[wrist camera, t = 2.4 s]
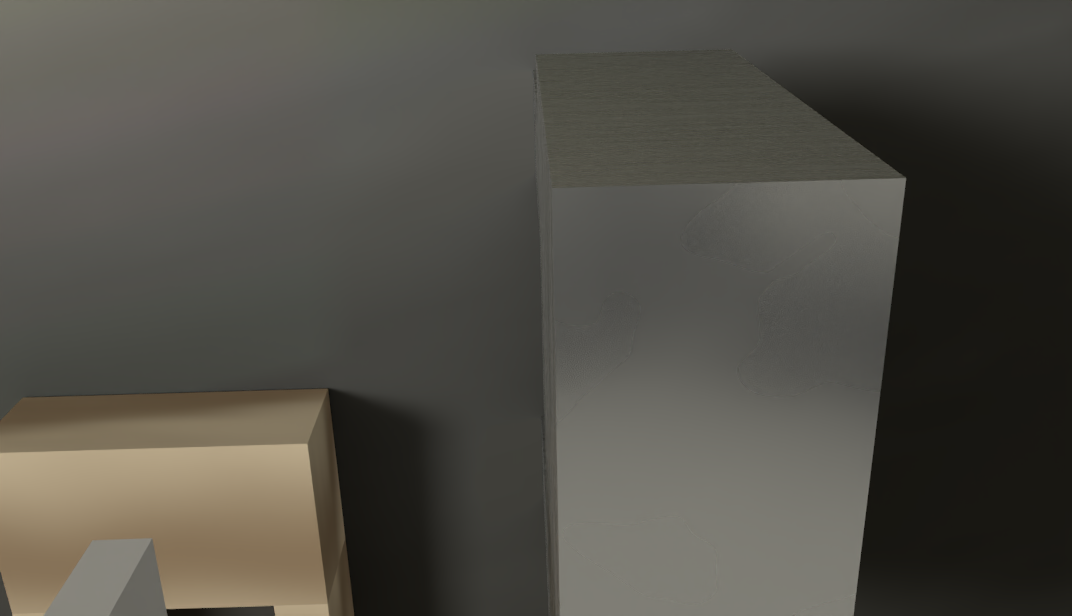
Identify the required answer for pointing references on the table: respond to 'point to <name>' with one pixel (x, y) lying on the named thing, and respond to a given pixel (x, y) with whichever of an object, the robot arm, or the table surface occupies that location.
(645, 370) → the grey flat block
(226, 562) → the wooden ladder frame
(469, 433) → the table surface
